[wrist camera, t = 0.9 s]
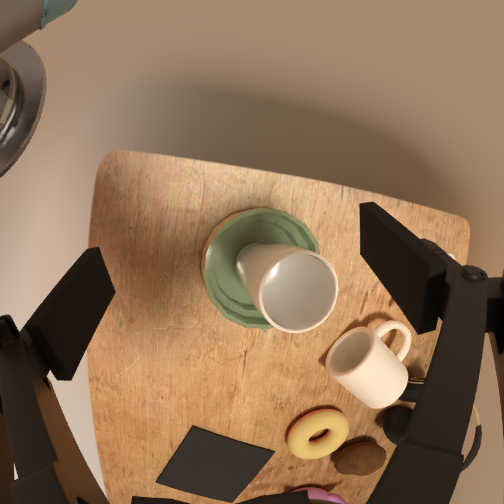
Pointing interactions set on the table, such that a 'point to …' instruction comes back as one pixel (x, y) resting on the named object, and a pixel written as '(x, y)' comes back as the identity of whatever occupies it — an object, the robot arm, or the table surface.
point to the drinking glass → (288, 284)
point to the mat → (213, 465)
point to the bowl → (229, 245)
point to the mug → (370, 364)
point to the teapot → (321, 494)
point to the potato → (360, 459)
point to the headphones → (401, 415)
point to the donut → (313, 424)
